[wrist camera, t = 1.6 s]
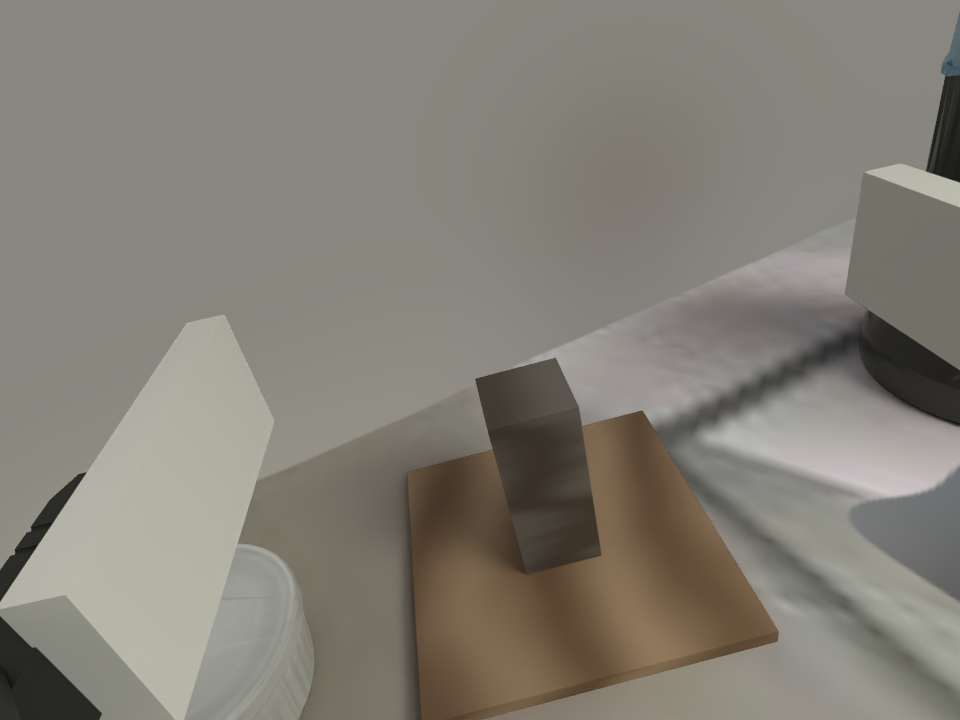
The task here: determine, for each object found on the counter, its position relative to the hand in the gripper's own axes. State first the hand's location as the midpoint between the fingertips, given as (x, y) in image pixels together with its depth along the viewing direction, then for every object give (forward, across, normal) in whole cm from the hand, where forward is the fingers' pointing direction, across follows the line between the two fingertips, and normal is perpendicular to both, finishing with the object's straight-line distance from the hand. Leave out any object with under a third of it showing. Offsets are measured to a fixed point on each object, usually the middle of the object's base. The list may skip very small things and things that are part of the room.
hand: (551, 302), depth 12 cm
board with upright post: (+11, 0, -21) cm, 24 cm away
